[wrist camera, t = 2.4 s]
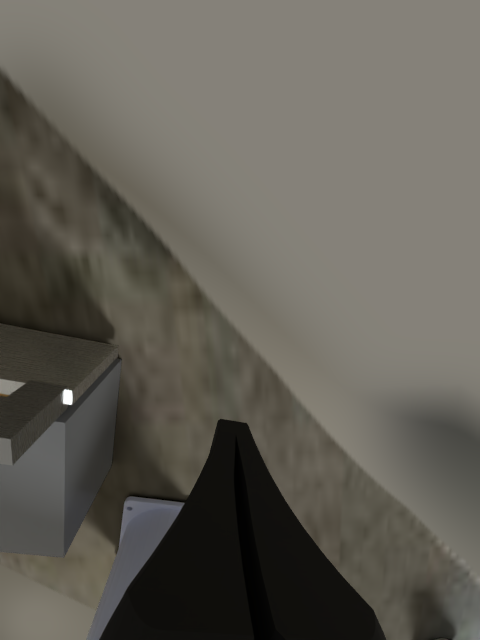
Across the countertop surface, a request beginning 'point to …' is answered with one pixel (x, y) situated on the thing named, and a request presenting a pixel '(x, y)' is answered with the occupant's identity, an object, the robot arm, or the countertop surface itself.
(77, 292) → the countertop surface
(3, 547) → the camera housing
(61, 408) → the side door
